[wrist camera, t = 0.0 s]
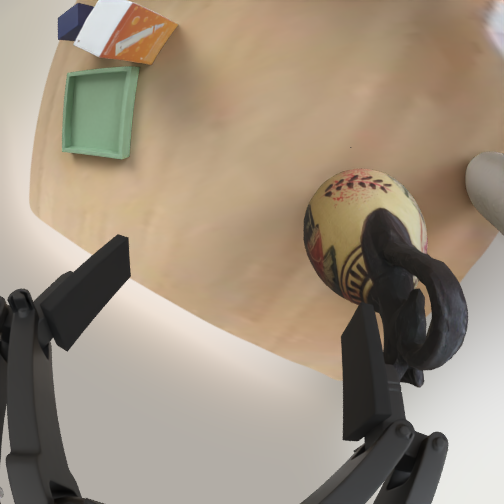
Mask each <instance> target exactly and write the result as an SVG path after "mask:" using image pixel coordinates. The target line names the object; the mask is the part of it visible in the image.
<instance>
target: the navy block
mask: <svg viewBox="0 0 504 504" xmlns="http://www.w3.org/2000/svg"><path fill="white" fill-rule="evenodd" d="M93 8H94V7H93V6H89V5H85V4H81V3H77V4H76V5H74V6H73V7H72V8H70V9H69V10H68V11H66V12H65V13H64V14H62V15H61V16H60V17H59V18H58V40H69V41H75V40H76V38H77V36H78V34H79V33H80V31H81V29H82V27H83V25H84V23H85V21H86V19H87V17H88V16H89V14H90V13H91V11H92V10H93Z"/></svg>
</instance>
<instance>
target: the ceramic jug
mask: <svg viewBox="0 0 504 504" xmlns="http://www.w3.org/2000/svg"><path fill="white" fill-rule="evenodd" d="M350 148H352V147H350ZM304 244H305V249H306V252H307V255H308V257H309V260H310V262H311V264H312V266H313V267H314V269H315V271H316V273H317V274H318V276H319V277H320V278H321V280H322V281H323V282H324V283H325V284H326V285H327V286H328V287H329V288H330V289H331V290H333V291H334V292H335V293H337V294H338V295H339V296H341V297H343V298H345V299H347V300H349V301H350V302H352V303H355V304H357V305H359V304H360V302H363V303H367V304H371V305H373V306H374V311H375V312H377V313H379V314H380V316H381V318H382V323H383V329H384V350H383V355H384V361H385V364H390V365H394V367H395V369H396V370H397V372H398V374H399V380H400V382H405V383H410V384H412V385H414V386H416V387H421V386H422V385H423V383H424V375H423V370H432V369H435V368H438V367H440V366H442V365H443V364H444V363H446V362H447V361H448V360H450V359H451V358H452V356H453V355H454V354H456V352H457V351H458V350H459V348H460V347H461V346H462V343H463V341H464V337H465V334H466V331H467V324H468V310H467V305H466V300H465V297H464V294H463V291H462V288H461V286H460V284H459V282H458V280H457V279H456V277H455V276H454V274H453V273H452V272H451V270H450V269H449V268H448V267H447V266H446V264H445V263H444V262H441V261H439V260H436V259H433V258H431V257H430V256H429V255H428V254H427V244H428V239H427V229H426V225H425V221H424V218H423V215H422V213H421V211H420V208H419V207H418V205H417V203H416V201H415V200H414V198H413V197H412V195H411V194H410V193H409V192H408V190H407V189H406V188H405V187H404V186H403V185H402V184H401V183H400V182H398V181H397V180H396V179H394V178H392V177H391V176H389V175H387V174H385V173H383V172H380V171H376V170H369V169H353V170H347V171H344V172H341V173H339V174H336V175H335V176H333V177H332V178H330V179H328V180H327V181H326V182H324V183H323V184H322V185H321V186H320V188H319V189H318V190H317V192H316V193H315V194H314V196H313V198H312V199H311V201H310V203H309V205H308V207H307V210H306V214H305V218H304ZM419 280H420V281H421V282H422V283H423V284H424V285H425V286H426V289H427V291H428V294H429V297H430V302H431V310H432V320H431V323H430V326H429V329H428V332H427V336H426V317H425V309H424V306H425V297H424V295H423V293H422V292H421V290H420V289H415V288H416V286H417V285H418V282H419Z"/></svg>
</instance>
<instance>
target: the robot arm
mask: <svg viewBox="0 0 504 504" xmlns="http://www.w3.org/2000/svg"><path fill="white" fill-rule="evenodd" d="M130 277H131V273H130V259H129V240H128V237H125V236H122V235H116V236H115V237H114V238H113V239H111V240H110V241H109V242H108V243H107V244H105V245H104V246H103V247H102V248H101V249H99V250H98V251H97V252H96V253H95V254H94V255H92V256H91V257H90V258H89V259H88V260H87V261H86V262H85V263H83V264H82V265H81V266H80V267H79V268H78V269H77V270H75V271H74V272H72V271H69V272H67V273H65V274H63V275H61V276H60V277H59V278H58V279H57V280H56V281H55V282H53V283H52V284H51V286H50V287H48V288H47V289H46V290H45V291H44V292H43V293H42V294H41V295H40V296H39V297H38V298H37V299H36V300H35V301H34V302H33V300H32V297H31V295H30V293H29V291H28V290H26V289H18V290H15V291H14V292H12V293H11V294H10V295H9V297H8V302H9V305H10V306H9V305H7V304H6V301H5V299H4V298H3V297H1V296H0V459H1V443H2V433H3V424H4V417H5V410H6V404H7V416H8V429H9V439H10V447H11V452H10V454H8V455H7V457H6V467H7V472H8V478H9V482H10V487H11V491H12V495H13V499H14V502H15V504H104V503H100V502H97V501H94V500H91V499H88V498H86V499H85V498H82V497H81V494H80V491H79V488H78V486H77V483H76V481H75V479H74V477H73V476H72V474H71V473H70V470H69V468H68V464H67V460H66V456H65V453H64V448H63V444H62V439H61V434H60V428H59V423H58V417H57V410H56V403H55V394H54V385H53V372H52V352H51V351H52V349H51V342H50V341H51V339H52V338H54V340H55V342H56V344H57V345H58V346H59V347H61V348H63V349H64V350H66V351H68V350H69V349H70V348H71V346H72V345H73V344H74V343H75V341H76V340H77V339H78V338H79V336H80V335H81V333H83V331H84V330H85V329H86V328H87V326H88V325H89V324H90V323H91V321H92V320H93V319H94V318H95V317H96V315H97V314H98V313H99V312H100V311H101V310H102V308H103V307H104V306H105V305H106V304H107V303H108V301H109V300H110V299H111V298H112V297H113V296H114V294H115V293H116V292H117V291H118V290H119V289H120V288H121V286H122V285H123V284H124V283H125V282H126V281H127V280H128V279H129V278H130ZM341 345H342V367H343V440H346V441H359V440H360V439H362V438H363V437H365V443H364V444H363V445H362V446H360V447H359V448H357V449H356V450H354V452H355V453H354V454H353V455H352V456H351V457H350V459H349V460H348V461H347V462H346V463H345V464H344V465H343V466H342V467H341V468H340V469H339V470H338V471H337V472H336V473H335V474H334V475H333V476H331V477H330V479H328V480H327V481H326V482H325V483H324V484H323V485H322V486H321V487H320V488H319V489H317V490H316V491H315V492H314V493H312V494H311V495H310V496H309V497H308V498H307V499H305V500H304V501H303V502H302V503H300V504H365V503H366V502H367V501H368V500H369V499H370V498H371V496H372V495H373V494H374V493H375V492H376V490H377V489H378V488H379V487H380V486H381V484H382V483H383V482H384V483H383V486H382V487H381V490H380V491H379V493H378V495H377V497H376V499H375V501H374V503H373V504H431V503H432V500H433V497H434V494H435V492H436V489H437V486H438V483H439V480H440V476H441V473H442V470H443V466H444V462H445V459H446V455H447V451H448V440H447V438H446V437H445V435H444V434H442V433H441V432H433V433H432V434H431V435H429V436H427V435H424V434H421V433H419V432H416V431H415V430H414V428H413V425H412V424H411V423H410V422H409V421H407V420H406V418H405V411H404V404H403V398H402V392H401V385H400V380H399V374H398V372H397V370H396V369H395V367H394V365H390V364H385V361H384V355H383V350H382V344H381V339H380V334H379V329H378V324H377V320H376V315H375V311H374V306H373V305H371V304H367V303H363V302H360V304H359V306H358V308H357V310H356V311H355V313H354V315H353V317H352V319H351V320H350V322H349V324H348V326H347V327H346V329H345V331H344V332H343V334H342V336H341ZM2 497H3V490H2V488H1V487H0V498H2ZM0 504H1V503H0Z"/></svg>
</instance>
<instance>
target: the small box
mask: <svg viewBox="0 0 504 504" xmlns="http://www.w3.org/2000/svg"><path fill="white" fill-rule="evenodd" d="M177 26H178V24H177V23H175V22H173V21H172V20H170V19H168V18H166V17H164V16H162V15H160V14H158V13H156V12H153V11H151V10H149V9H147V8H145V7H143V6H140V5H138V4H136V3H133V2H130V1H127V0H99V1H98V2H97V4H96V5H95V7H94V8H93V10H92V11H91V13H90V14H89V16H88V17H87V19H86V21H85V23H84V25H83V27H82V29H81V31H80V33H79V34H78V36H77V38H76V40H75V42H74V44H73V45H74V46H76V47H79V48H81V49H83V50H85V51H87V52H90V53H91V54H93V55H95V56H97V57H100V58H108V59H116V60H124V61H130V62H136V63H143V64H148V65H152V63H153V61H154V59H155V58H156V56H157V55H158V53H159V51H160V50H161V48H162V47H163V45H164V44H165V42H166V41H167V40H168V38H169V37H170V35H171V34H172V33H173V31H174V30H175V29H176V27H177Z"/></svg>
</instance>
